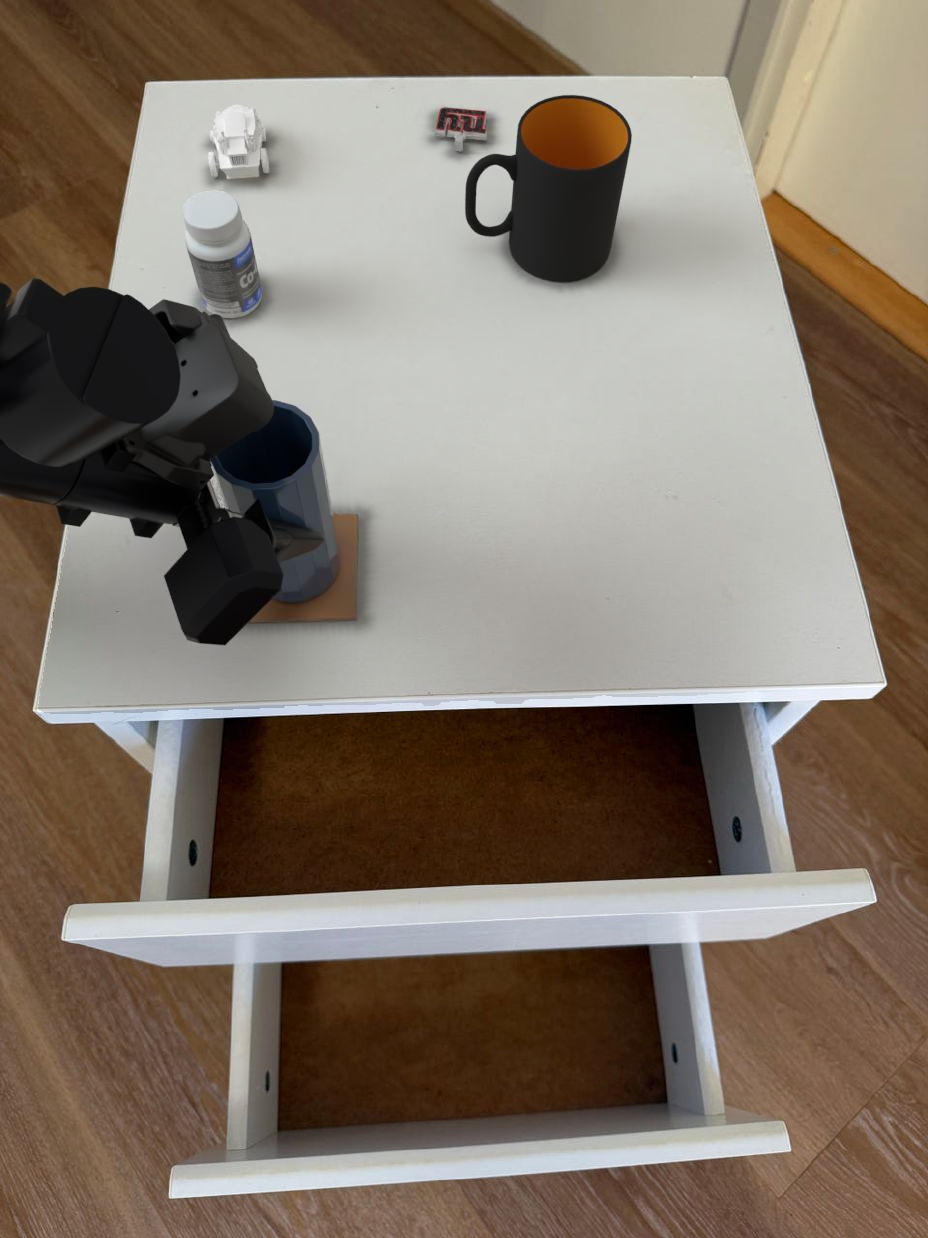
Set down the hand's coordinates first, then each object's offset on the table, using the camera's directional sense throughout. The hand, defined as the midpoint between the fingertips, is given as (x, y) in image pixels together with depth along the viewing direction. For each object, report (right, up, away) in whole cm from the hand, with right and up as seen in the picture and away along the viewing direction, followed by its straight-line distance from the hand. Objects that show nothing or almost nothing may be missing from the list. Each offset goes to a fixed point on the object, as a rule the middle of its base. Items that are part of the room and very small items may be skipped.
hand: (302, 501), depth 60 cm
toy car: (-9, +32, +24) cm, 42 cm away
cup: (-1, -3, +6) cm, 7 cm away
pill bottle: (-8, +18, +17) cm, 26 cm away
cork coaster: (-1, -4, +6) cm, 7 cm away
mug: (+16, +23, +20) cm, 34 cm away
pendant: (+10, +35, +26) cm, 45 cm away
